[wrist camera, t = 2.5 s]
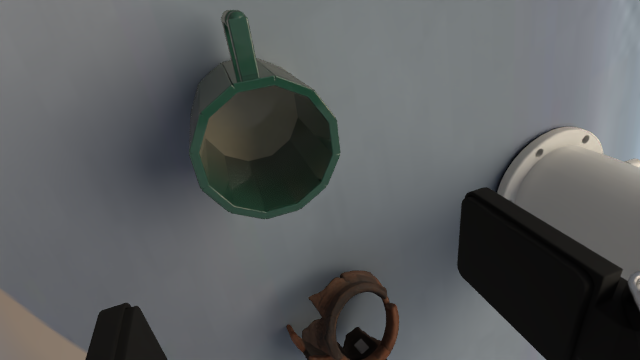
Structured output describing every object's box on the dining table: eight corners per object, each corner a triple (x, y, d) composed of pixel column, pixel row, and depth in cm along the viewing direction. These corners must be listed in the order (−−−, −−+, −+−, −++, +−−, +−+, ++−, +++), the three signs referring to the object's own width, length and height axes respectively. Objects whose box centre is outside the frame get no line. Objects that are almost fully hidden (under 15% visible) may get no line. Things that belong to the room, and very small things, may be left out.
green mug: (307, 148, 27) (345, 197, 20) (210, 172, 25) (215, 233, 18) (283, 0, 22) (323, -3, 15) (162, 19, 21) (145, 24, 14)
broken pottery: (257, 315, 33) (295, 343, 26) (320, 240, 37) (368, 247, 30) (334, 389, 36) (387, 433, 29) (385, 314, 40) (442, 336, 33)
